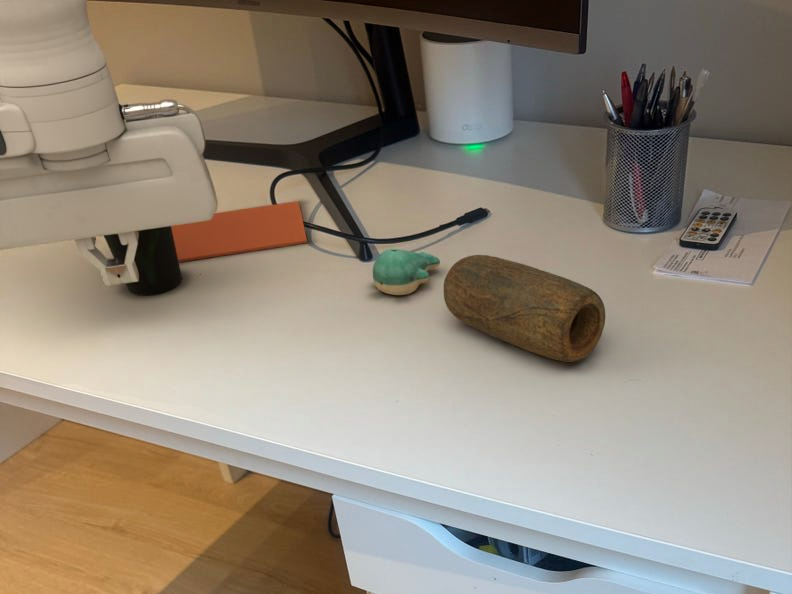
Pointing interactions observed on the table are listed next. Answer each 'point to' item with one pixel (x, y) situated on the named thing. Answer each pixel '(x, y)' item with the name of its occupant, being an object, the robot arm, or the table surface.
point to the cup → (151, 260)
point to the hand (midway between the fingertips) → (122, 281)
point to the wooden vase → (525, 306)
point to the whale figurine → (402, 270)
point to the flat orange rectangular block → (240, 232)
